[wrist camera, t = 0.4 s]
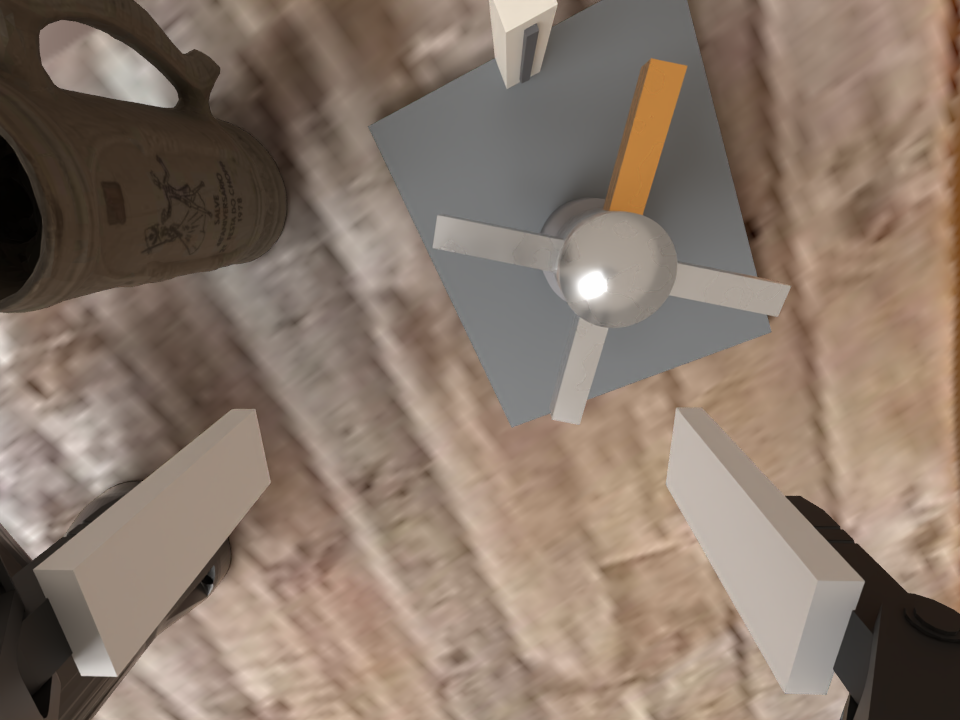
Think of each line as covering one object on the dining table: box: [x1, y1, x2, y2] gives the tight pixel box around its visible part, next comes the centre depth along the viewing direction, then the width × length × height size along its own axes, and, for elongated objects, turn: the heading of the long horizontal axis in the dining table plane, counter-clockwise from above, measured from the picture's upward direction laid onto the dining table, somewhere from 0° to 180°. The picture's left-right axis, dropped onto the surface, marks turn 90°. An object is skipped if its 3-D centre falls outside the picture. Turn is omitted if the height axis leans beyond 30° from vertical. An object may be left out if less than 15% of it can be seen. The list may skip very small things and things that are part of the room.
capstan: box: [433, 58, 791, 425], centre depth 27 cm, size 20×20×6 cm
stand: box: [368, 0, 771, 427], centre depth 29 cm, size 22×26×14 cm
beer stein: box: [0, 0, 287, 313], centre depth 26 cm, size 15×11×20 cm
